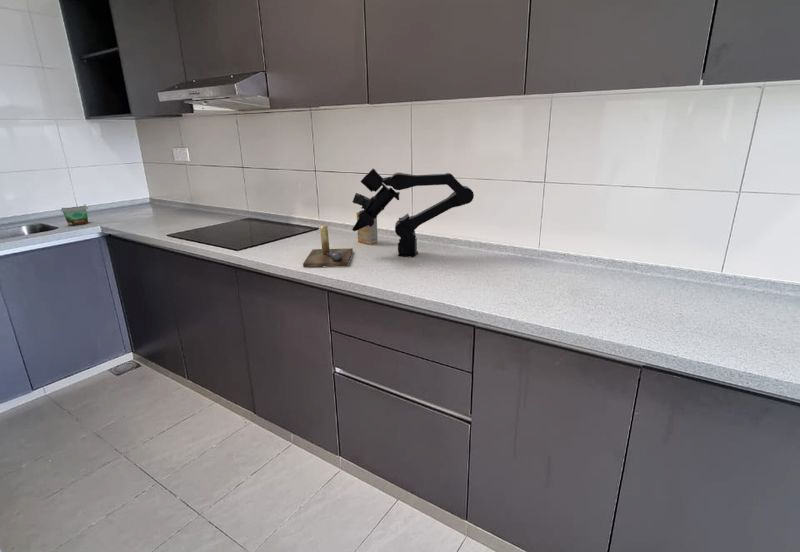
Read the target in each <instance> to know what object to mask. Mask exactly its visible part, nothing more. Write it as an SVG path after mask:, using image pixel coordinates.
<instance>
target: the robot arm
mask: <svg viewBox="0 0 800 552" xmlns="http://www.w3.org/2000/svg"><path fill="white" fill-rule="evenodd" d="M360 183H361V184H362V185H363V186H364V187H366V188H367V189H368V190H369V192H371V193H372V192H374V193H376V192H377V193H376V194H375V195H373V196H371V198H370V197H367V196H366V195H363V194H360V193H357V192H355V194H354V196H353V200H352V203H353V204H357V205H359V206H361V208H360V209H361V210H359V211H358V212H359V214H358V216H359V219H358V221H357V220H356V222H355V224H354V225H353V228H352V229H351V230H352V231H353V232H357V230H359V229H361V228H363V227H366V226H370V227H371V226H372V225H373V224H374V222H375V219H374V218H376V217H377V218H378V215H379V214H380V213H381V212H382V211H384V210H385V208H386V207H387V206H388V204H389V203H390V202H391V201H392V200H393V199H396V200H397V201H399V200H400V192H399V191H402V190H406V189H410V188H413V187H423V186H425V187H426V186H448V187H449V188H450V189H451V190H452V191H453V192H451V194H450V195H448V197H446V198H443V200H441V201H439V202H437V203H435V204H433V205H431V206H430V207H428V208H426V209H424V210H422V211H421V212H418V213H417V214H415V215H409V213H406V214H405V215H403V216H401V217H398V220H397V221H396V222H395V224H394V232H395V234H396V236H398V237H400V238H399V240H398V243H397V253H398V255H397V256H398V257H408V256H411V257H410V258H414V256H415V257H416V256H417V254H418V253H419V251H418V240H417V239H418V238H417V236H416V231H415V230H416V229H417V228H418V227H419V226H420V225H423V224H425V223H426V222H429V221H430V220H432V219H434V218H436V217H437V216H438V217H439V215H441V214H444V213H446V212H447V211H449V210H450V209H453V208H458V207H462V206H464V205H467V204H470V203H471V202H472V201H474V196H475V194H474V191H473V190H472V189H471V188H470V187H469V186H466V185H462V184H461V183H460V182H459V181H458V180H457V179H456V178H455V177H454V175H453V173H449V172H447V173H436V174H435V173H434V174H433V173H432V174H410V173H405V172H404V173H403V172H395V173H393V175H391V176H388V177H382V176H381V174H379V172H377V170H376V169H375V168H373V167H372V169H371V170H370V171H368V173H366V175H364V177H363V178H362V179H361V180H360Z"/></svg>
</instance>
